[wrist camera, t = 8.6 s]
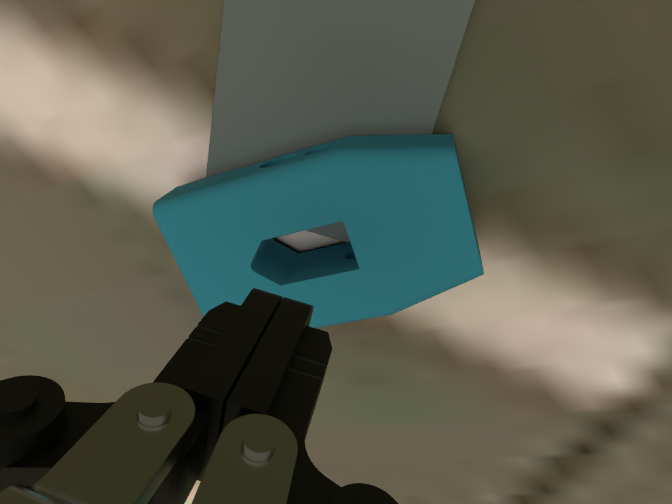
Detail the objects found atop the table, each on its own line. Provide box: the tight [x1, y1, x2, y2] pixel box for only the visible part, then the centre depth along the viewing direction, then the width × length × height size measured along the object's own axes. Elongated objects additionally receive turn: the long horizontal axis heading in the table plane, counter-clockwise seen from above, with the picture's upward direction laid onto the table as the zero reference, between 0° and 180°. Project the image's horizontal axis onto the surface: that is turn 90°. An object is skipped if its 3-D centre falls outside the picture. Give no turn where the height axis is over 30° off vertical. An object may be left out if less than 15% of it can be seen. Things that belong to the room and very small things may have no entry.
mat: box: [206, 0, 475, 242], centre depth 33 cm, size 15×18×1 cm
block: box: [153, 134, 484, 328], centre depth 34 cm, size 12×5×20 cm
